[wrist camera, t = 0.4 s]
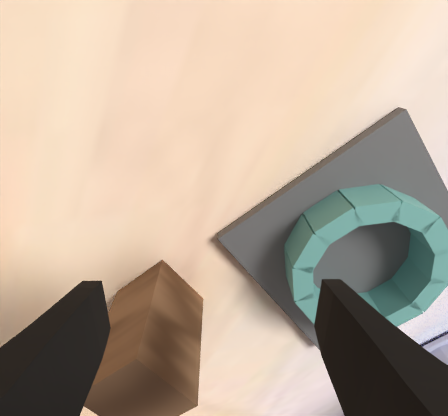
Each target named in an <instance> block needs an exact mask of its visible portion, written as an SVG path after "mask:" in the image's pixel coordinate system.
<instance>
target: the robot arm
mask: <svg viewBox="0 0 448 416" xmlns="http://www.w3.org/2000/svg"><path fill="white" fill-rule="evenodd" d="M314 328H315V332H316V336H317V340H318V344H319V348H320V352H321V355H322V358H323V361H324V363H325V366H326V369H327V371H328V374H329V377H330V379H331V382H332V384H333V387H334V389H335V392H336V394H337V397H338V400H339V402H340V405H341V407H342V410H343V412H344V415H345V416H448V334H447V335H445V336H443V337H441V338H439V339H436V340H434V341H432V342H430V343H428V344H426V345H424V346H420V345H419V344H418V343H416V342H415V341H414V340H412V339H411V338H410V337H409V336H407V335H406V334H405V333H403V332H402V331H401V330H400V329H398V328H397V327H396V326H395V325H393V324H392V323H391V322H390V321H389V320H387V319H386V318H385V317H384V316H383V315H381V314H380V313H379V312H378V311H377V310H376V309H374V308H373V307H372V306H371V305H370V304H369V303H368V302H366V301H365V300H364V299H363V298H362V297H361V296H360V295H358V294H357V293H356V292H355V291H354V290H353V289H352V288H350V287H349V286H348V285H347V284H346V283H345V282H343V281H342V280H341V279H322V282H321V287H320V293H319V299H318V305H317V311H316V317H315V323H314ZM110 329H111V327H110V322H109V316H108V311H107V306H106V301H105V295H104V290H103V285H102V281H82V282H81V283H80V284H78V285H77V286H76V287H75V288H73V289H72V290H71V291H70V292H69V293H68V294H66V295H65V296H64V297H63V298H62V299H60V300H59V301H58V302H57V303H56V304H55V305H53V306H52V307H51V308H50V309H49V310H47V311H46V312H45V313H44V314H42V315H41V316H40V317H39V318H38V319H36V320H35V321H34V322H33V323H32V324H30V325H29V326H28V327H27V328H25V329H24V330H23V331H21V332H20V333H19V334H17V335H16V336H15V337H14V338H12V339H11V340H10V341H8V342H7V343H6V344H4V345H3V346H2V347H0V416H80V413H81V411H82V408H83V406H84V404H85V401H86V399H87V396H88V394H89V391H90V389H91V386H92V384H93V381H94V379H95V376H96V374H97V371H98V369H99V366H100V364H101V361H102V359H103V355H104V352H105V348H106V345H107V341H108V337H109V333H110Z"/></svg>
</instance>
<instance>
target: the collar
mask: <svg viewBox="0 0 448 416" xmlns="http://www.w3.org/2000/svg"><path fill="white" fill-rule="evenodd" d="M218 240H219V241H220V242H221V243H222V244H223V245H224V246H225V248H226V249H227V250H228V251H229V252H230V253H231V254H232V255H233V256H234V257H235V258H236V260H237V261H238V262H239V263H240V264H241V265H242V266H243V267H244V268H245V269H246V270H247V271H248V273H249V274H250V275H251V276H252V277H253V278H254V279H255V280H256V281H257V282H258V283H259V284H260V286H261V287H262V288H263V289H264V290H265V291H266V292H267V293H268V294H269V295H270V296H271V298H272V299H273V300H274V301H275V302H276V303H277V304H278V305H279V306H280V307H281V308H282V309H283V311H284V312H285V313H286V314H287V315H288V316H289V317H290V318H291V319H292V320H293V321H294V323H295V324H296V325H297V326H298V327H299V328H300V329H301V330H302V331H303V332H304V333H305V334H306V336H307V337H308V338H309V339H310V340H311V341H312V342H313V343H314V344H315V345H316V346H317V347H318V349H319V350H320V348H319V344H318V340H317V336H316V332H315V328H314V323H315V317H316V311H317V305H318V299H319V293H320V287H321V282H322V279H341V280H342V281H343V282H345V283H346V284H347V285H348V286H349V287H350V288H352V289H353V290H354V291H355V292H356V293H357V294H358V295H360V296H361V297H362V298H363V299H364V300H365V301H366V302H368V303H369V304H370V305H371V306H372V307H373V308H374V309H376V310H377V311H378V312H379V313H380V314H381V315H383V316H384V317H385V318H386V319H387V320H389V321H390V322H391V323H392V324H393V325H395V326H396V327H397V326H399V325H401V324H403V323H405V322H407V321H409V320H411V319H413V318H415V317H417V316H419V315H420V314H422V313H423V312H422V311H424V312H425V311H426V310H427V309H428V308H429V306H430V305H431V304H432V303H433V302H434V301H435V299H436V298H437V297H438V296H439V295H440V294H441V293H442V291H443V290H444V289H445V288H446V287H447V286H448V191H447V189H446V187H445V185H444V183H443V181H442V179H441V177H440V175H439V173H438V171H437V169H436V167H435V165H434V163H433V161H432V159H431V157H430V155H429V153H428V151H427V149H426V147H425V145H424V143H423V141H422V139H421V137H420V135H419V133H418V131H417V129H416V127H415V125H414V123H413V121H412V120H411V118H410V116H409V114H408V112H407V110H406V109H403V108H399V107H398V108H397V109H395V110H394V111H393V112H391V113H390V114H388V115H387V116H385V117H384V118H383V119H381V120H380V121H378V122H377V123H375V124H374V125H372V126H371V127H370V128H368V129H367V130H365V131H364V132H362V133H361V134H360V135H358V136H357V137H355V138H354V139H352V140H351V141H349V142H348V143H347V144H345V145H344V146H342V147H341V148H339V149H338V150H336V151H335V152H334V153H332V154H331V155H329V156H328V157H326V158H325V159H324V160H322V161H321V162H319V163H318V164H316V165H315V166H313V167H312V168H311V169H309V170H308V171H306V172H305V173H303V174H302V175H301V176H299V177H298V178H296V179H295V180H293V181H292V182H290V183H289V184H288V185H286V186H285V187H283V188H282V189H280V190H279V191H278V192H276V193H275V194H273V195H272V196H270V197H269V198H267V199H266V200H265V201H263V202H262V203H260V204H259V205H257V206H256V207H255V208H253V209H252V210H250V211H249V212H247V213H246V214H244V215H243V216H242V217H240V218H239V219H237V220H236V221H234V222H233V223H231V224H230V225H229V226H227V227H226V228H224V229H223V230H221V231H220V232H219V233H218Z"/></svg>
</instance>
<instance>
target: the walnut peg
mask: <svg viewBox="0 0 448 416" xmlns="http://www.w3.org/2000/svg"><path fill="white" fill-rule="evenodd" d="M202 311H203V298H202V297H201V296H200V295H199V294H198V293H197V292H196V291H195V290H194V289H193V288H192V287H190V286H189V285H188V284H187V283H186V282H185V281H184V280H183V279H182V278H181V277H180V276H179V275H178V274H177V273H176V272H175V271H174V270H173V269H172V268H171V267H170V266H169V265H167V264H166V263H165V262H164V261H163V260H162V261H160V262H159V263H157V264H156V265H154V266H153V267H152V268H150V269H149V270H147V271H146V272H145V273H143V274H142V275H140V276H139V277H137V278H136V279H135V280H133V281H132V282H130V283H129V284H128V285H126V286H125V287H123V288H122V289H121V290H119V291H118V292H117V294H116V296H115V299H114V301H113V303H112V306H111V308H110V310H109V313H108V316H109V322H110V327H111V329H110V333H109V337H108V341H107V345H106V348H105V352H104V355H103V359H102V361H101V364H100V366H99V369H98V371H97V374H96V376H95V379H94V381H93V384H92V386H91V389H90V391H89V394H88V396H87V399H86V401H85V404H84V407H86V408H88V409H89V410H91V411H92V412H94V413H95V414H97V415H99V416H179V415H181V414H183V413H185V412H187V411H189V410H190V409H192V408H194V407H196V406H198V388H199V369H200V350H201V331H202Z"/></svg>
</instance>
